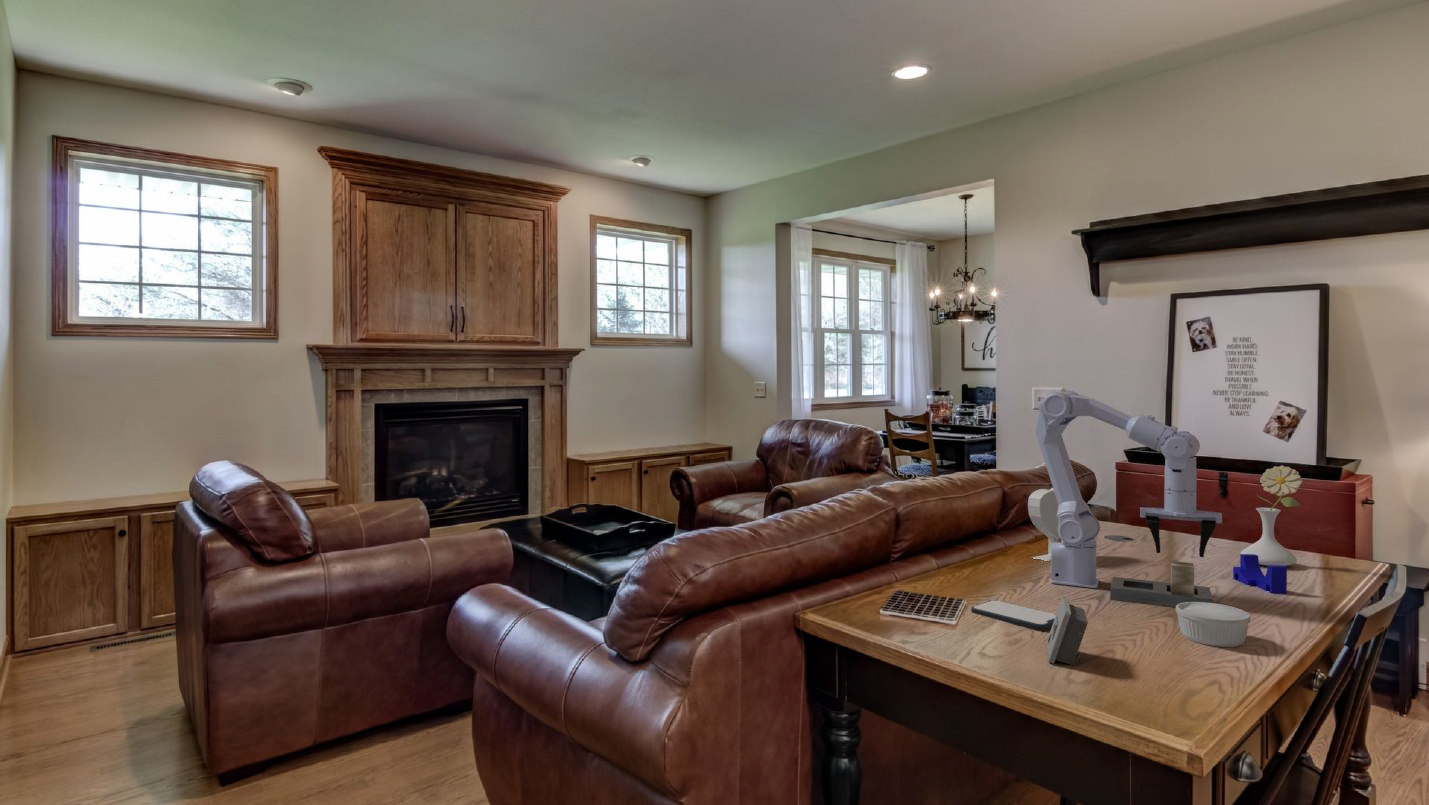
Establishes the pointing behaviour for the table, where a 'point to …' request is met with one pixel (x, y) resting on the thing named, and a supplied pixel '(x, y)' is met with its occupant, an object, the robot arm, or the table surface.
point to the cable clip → (1261, 575)
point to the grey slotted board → (1155, 592)
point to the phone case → (1016, 615)
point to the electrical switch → (1066, 633)
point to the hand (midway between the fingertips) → (1179, 554)
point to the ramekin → (1213, 623)
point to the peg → (1182, 577)
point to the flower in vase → (1267, 546)
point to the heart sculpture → (1045, 516)
